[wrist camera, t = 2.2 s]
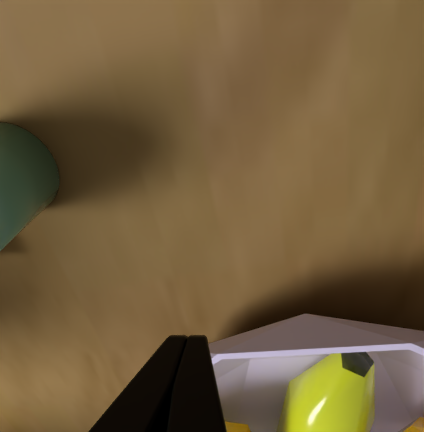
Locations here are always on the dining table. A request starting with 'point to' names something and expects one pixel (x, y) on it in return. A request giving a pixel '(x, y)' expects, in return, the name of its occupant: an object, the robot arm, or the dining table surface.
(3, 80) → the dining table surface
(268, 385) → the fruit bowl
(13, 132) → the bottle
